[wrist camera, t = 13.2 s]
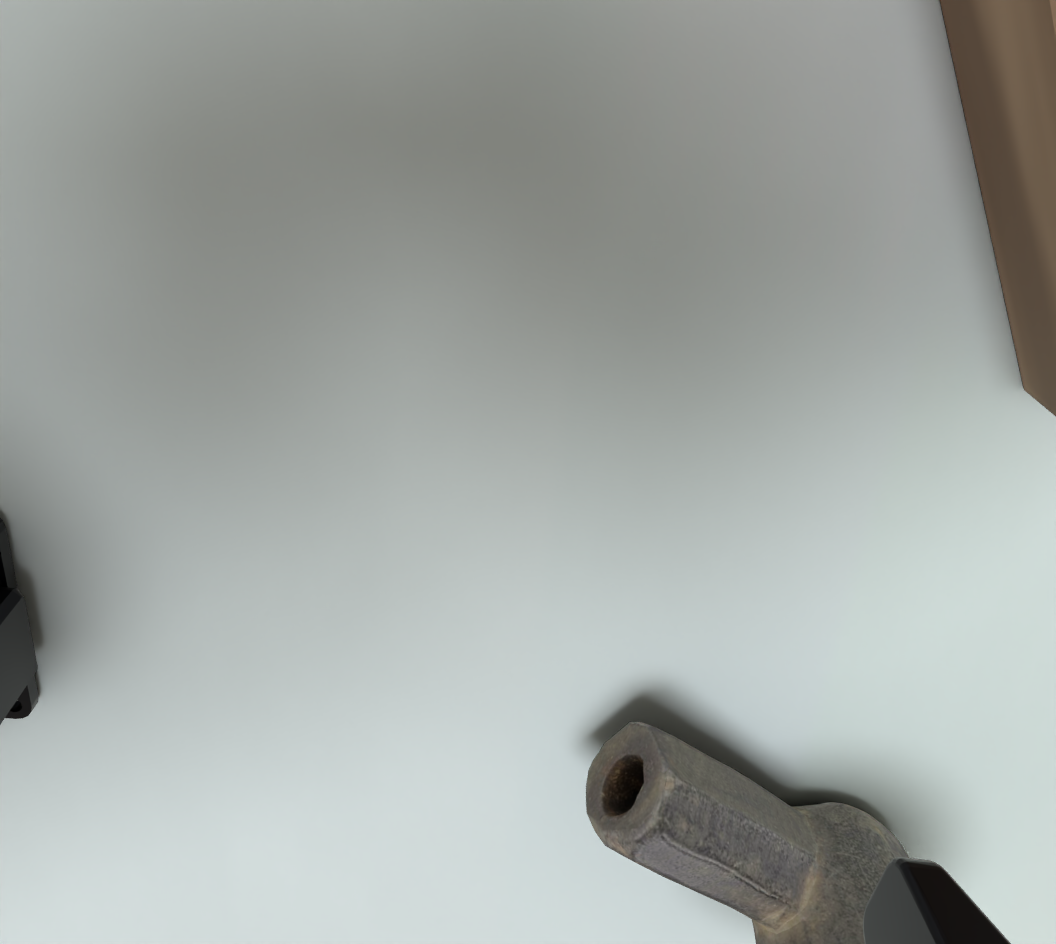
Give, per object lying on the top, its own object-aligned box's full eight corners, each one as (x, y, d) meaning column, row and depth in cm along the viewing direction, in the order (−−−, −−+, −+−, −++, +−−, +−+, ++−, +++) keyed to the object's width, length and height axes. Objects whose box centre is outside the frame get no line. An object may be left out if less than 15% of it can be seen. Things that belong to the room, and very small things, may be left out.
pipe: (680, 651, 24) (744, 925, 17) (972, 847, 28) (1120, 1133, 21) (537, 775, 27) (544, 1062, 20) (827, 940, 31) (917, 1226, 24)
